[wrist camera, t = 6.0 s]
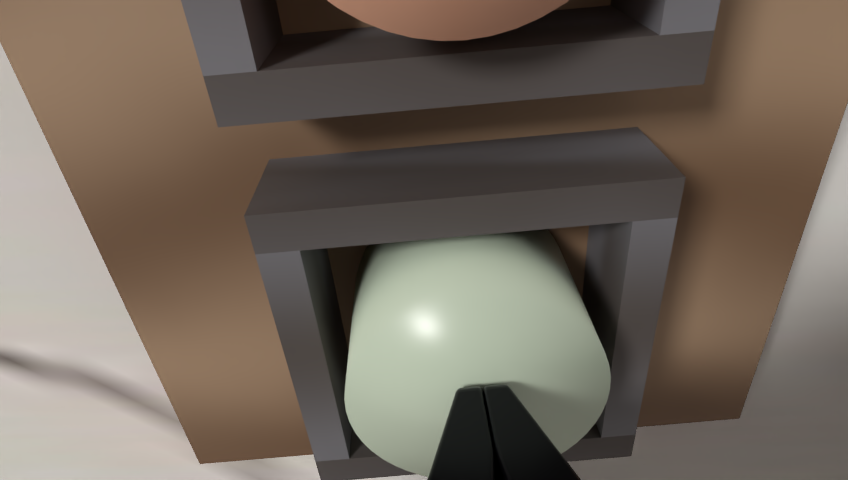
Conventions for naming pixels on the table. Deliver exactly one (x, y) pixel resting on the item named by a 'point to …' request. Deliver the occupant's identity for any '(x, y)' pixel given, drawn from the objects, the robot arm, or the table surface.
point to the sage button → (468, 340)
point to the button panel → (434, 186)
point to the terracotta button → (447, 16)
